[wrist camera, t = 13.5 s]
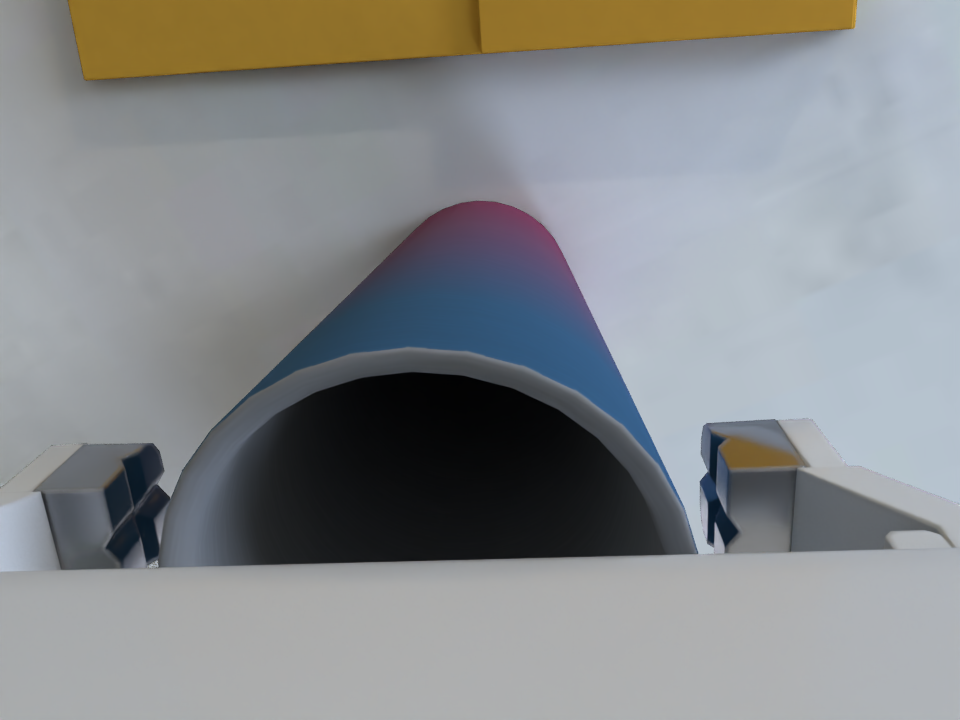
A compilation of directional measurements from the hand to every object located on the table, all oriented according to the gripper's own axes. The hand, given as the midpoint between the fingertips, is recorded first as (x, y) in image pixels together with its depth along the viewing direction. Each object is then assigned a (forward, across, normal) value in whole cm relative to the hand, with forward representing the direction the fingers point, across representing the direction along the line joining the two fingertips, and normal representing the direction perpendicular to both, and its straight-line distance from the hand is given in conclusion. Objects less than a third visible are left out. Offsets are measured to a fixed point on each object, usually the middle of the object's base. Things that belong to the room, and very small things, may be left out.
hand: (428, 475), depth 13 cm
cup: (+13, 0, +1) cm, 13 cm away
